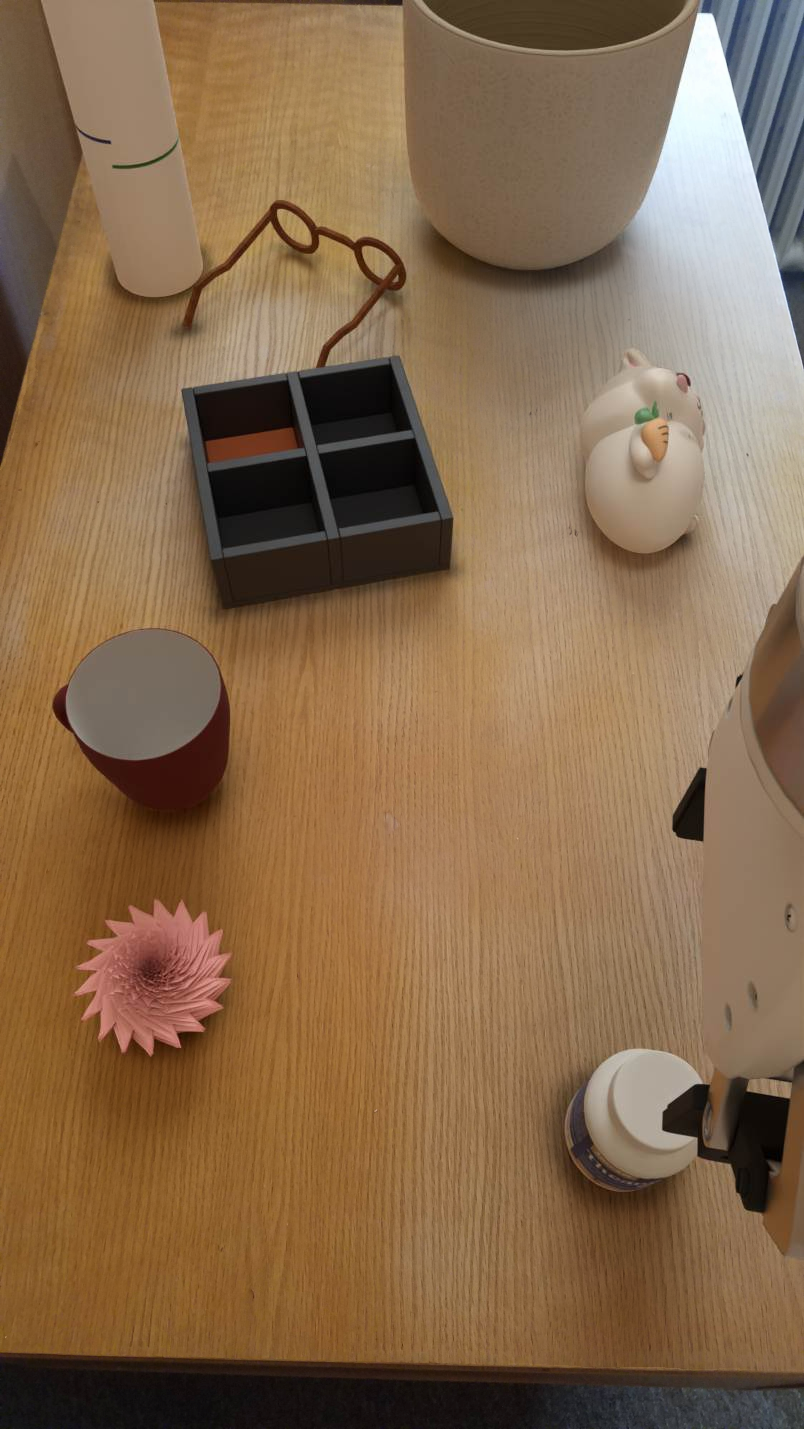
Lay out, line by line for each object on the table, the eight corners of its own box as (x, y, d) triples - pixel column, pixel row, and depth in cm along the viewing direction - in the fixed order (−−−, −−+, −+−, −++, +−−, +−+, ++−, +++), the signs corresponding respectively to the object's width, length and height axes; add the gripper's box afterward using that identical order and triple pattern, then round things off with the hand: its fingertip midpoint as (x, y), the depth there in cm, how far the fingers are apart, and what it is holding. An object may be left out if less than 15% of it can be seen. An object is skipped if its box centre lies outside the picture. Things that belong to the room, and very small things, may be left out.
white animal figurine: (687, 486, 60) (670, 294, 66) (560, 523, 64) (554, 339, 70) (731, 564, 67) (712, 385, 73) (614, 592, 71) (605, 420, 77)
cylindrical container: (142, 233, 86) (57, -124, 65) (218, 253, 85) (156, -105, 64) (100, 284, 83) (-5, -75, 62) (178, 305, 82) (98, -54, 60)
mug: (51, 820, 59) (-9, 737, 50) (99, 703, 63) (52, 607, 54) (226, 854, 58) (195, 775, 49) (264, 734, 62) (242, 641, 53)
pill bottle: (558, 1183, 49) (591, 1157, 41) (567, 1070, 52) (599, 1024, 44) (670, 1202, 49) (727, 1180, 41) (673, 1087, 52) (726, 1044, 43)
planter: (633, 155, 92) (683, -93, 76) (657, 307, 82) (722, 56, 66) (404, 152, 93) (405, -97, 76) (399, 303, 82) (399, 52, 66)
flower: (118, 1098, 51) (89, 1077, 47) (73, 957, 55) (42, 924, 50) (265, 1030, 53) (251, 1002, 48) (212, 897, 57) (194, 859, 52)
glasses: (409, 299, 82) (409, 243, 78) (314, 393, 77) (309, 339, 72) (279, 242, 86) (272, 186, 82) (179, 328, 80) (167, 273, 76)
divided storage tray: (399, 409, 76) (399, 354, 72) (450, 568, 68) (453, 518, 64) (193, 442, 74) (181, 388, 70) (222, 609, 67) (210, 560, 62)
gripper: (1347, 1286, 13) (848, 1298, 28) (1107, 383, 22) (822, 755, 37) (769, 1183, 14) (577, 1248, 29) (756, 343, 23) (614, 725, 37)
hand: (715, 971), depth 33 cm, fingers open, 9 cm apart
